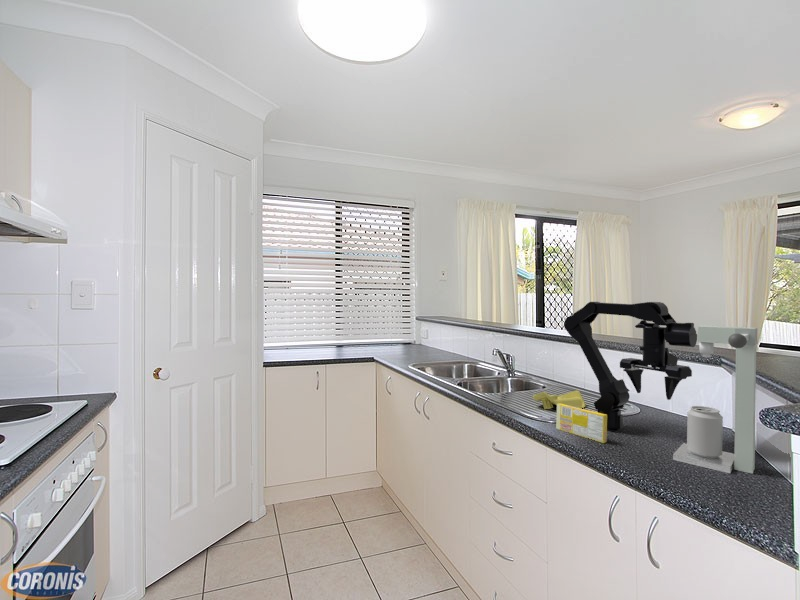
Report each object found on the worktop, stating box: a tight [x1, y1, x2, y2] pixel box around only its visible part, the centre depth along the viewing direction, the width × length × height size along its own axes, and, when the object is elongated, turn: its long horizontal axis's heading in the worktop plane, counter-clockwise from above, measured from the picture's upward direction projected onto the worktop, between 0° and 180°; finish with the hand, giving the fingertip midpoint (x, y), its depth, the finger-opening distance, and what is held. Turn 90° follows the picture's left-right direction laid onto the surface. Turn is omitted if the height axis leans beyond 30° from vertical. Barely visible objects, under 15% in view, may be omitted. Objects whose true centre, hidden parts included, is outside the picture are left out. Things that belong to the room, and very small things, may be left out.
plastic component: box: [532, 390, 586, 410], centre depth 161 cm, size 20×7×10 cm
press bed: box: [672, 442, 734, 474], centre depth 109 cm, size 12×12×2 cm
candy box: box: [555, 403, 608, 444], centre depth 129 cm, size 16×2×8 cm, turn 33°
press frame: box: [697, 325, 758, 475], centre depth 101 cm, size 11×21×35 cm, turn 135°
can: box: [686, 405, 724, 458], centre depth 110 cm, size 8×8×12 cm
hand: (653, 396), depth 125 cm, fingers open, 9 cm apart
